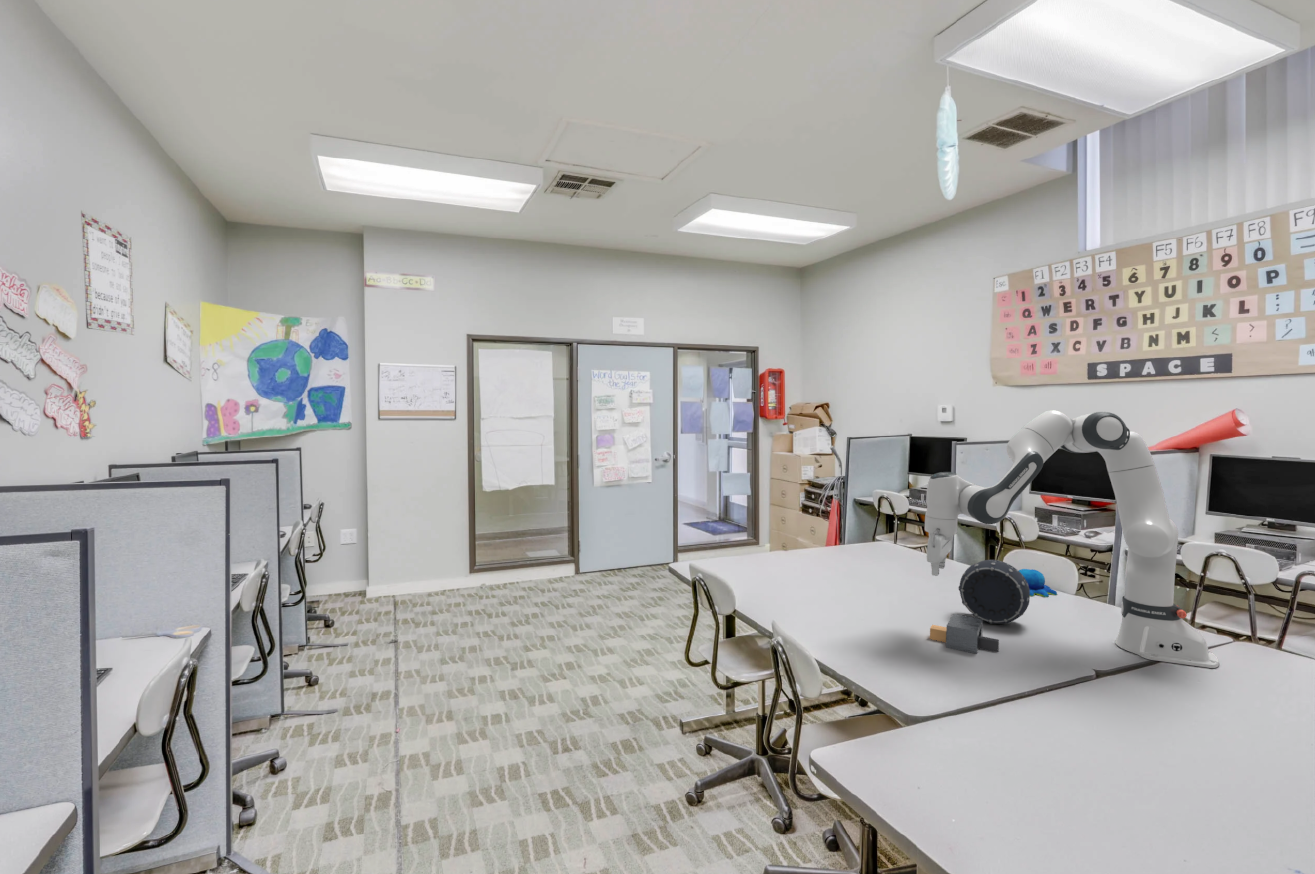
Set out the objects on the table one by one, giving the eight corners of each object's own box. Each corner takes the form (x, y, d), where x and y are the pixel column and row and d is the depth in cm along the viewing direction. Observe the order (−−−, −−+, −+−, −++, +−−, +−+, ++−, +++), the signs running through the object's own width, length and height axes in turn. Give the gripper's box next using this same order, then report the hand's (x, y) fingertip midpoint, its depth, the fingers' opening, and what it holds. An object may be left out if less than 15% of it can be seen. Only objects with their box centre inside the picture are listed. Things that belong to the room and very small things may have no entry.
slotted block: (982, 640, 181) (982, 619, 181) (976, 653, 171) (977, 631, 171) (952, 634, 185) (953, 613, 185) (946, 647, 176) (946, 625, 175)
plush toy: (1014, 596, 224) (1015, 574, 223) (996, 583, 240) (997, 562, 240) (1064, 599, 221) (1064, 576, 221) (1041, 585, 238) (1042, 564, 237)
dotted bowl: (1026, 633, 186) (1028, 569, 185) (955, 619, 199) (957, 559, 198) (1030, 623, 195) (1032, 562, 194) (962, 610, 207) (964, 553, 206)
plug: (998, 648, 175) (999, 637, 175) (997, 653, 172) (998, 641, 172) (932, 635, 185) (932, 624, 185) (929, 639, 182) (930, 628, 182)
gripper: (946, 533, 170) (943, 581, 171) (957, 522, 187) (955, 566, 188) (922, 530, 174) (919, 577, 175) (935, 519, 191) (933, 562, 192)
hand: (938, 571), depth 182 cm, fingers open, 8 cm apart
